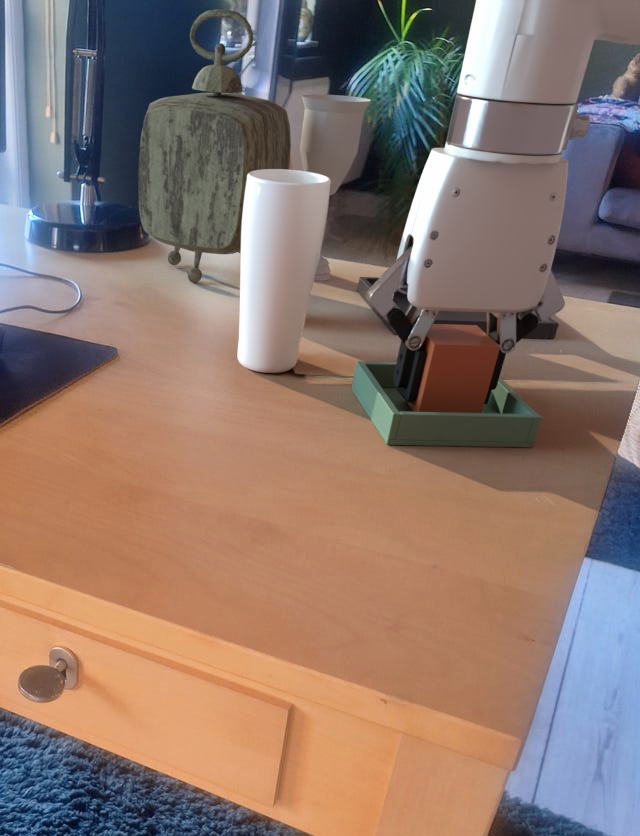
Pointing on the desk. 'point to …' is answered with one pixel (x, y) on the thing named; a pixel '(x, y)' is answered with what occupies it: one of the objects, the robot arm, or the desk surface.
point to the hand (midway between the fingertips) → (441, 394)
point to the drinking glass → (278, 263)
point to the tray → (442, 415)
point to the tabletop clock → (207, 156)
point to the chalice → (330, 142)
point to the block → (456, 369)
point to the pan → (455, 314)
